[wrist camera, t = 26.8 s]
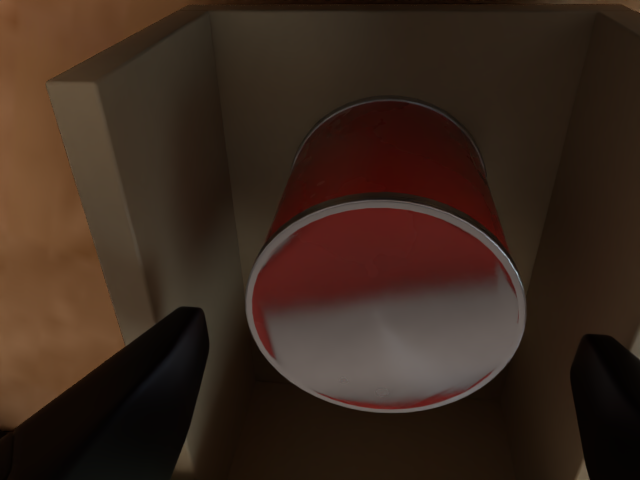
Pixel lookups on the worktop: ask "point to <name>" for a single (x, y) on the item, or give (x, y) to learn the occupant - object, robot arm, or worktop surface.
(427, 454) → the drawer
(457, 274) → the can
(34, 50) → the worktop surface
